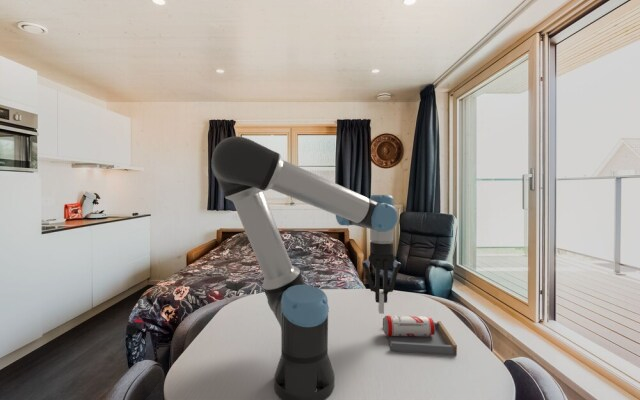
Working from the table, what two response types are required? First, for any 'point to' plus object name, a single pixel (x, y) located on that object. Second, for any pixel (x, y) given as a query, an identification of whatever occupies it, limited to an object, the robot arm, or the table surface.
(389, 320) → the beer can
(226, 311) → the table surface
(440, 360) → the table surface
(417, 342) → the tray
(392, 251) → the robot arm
